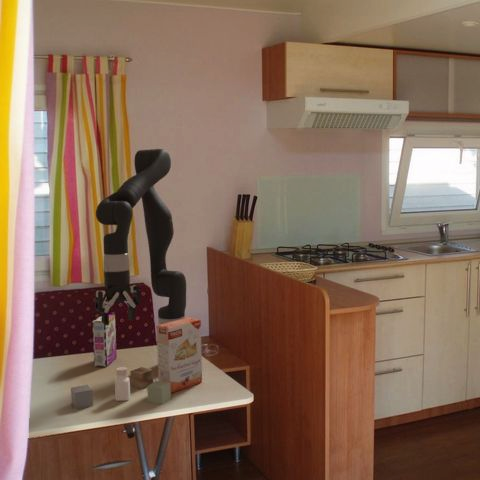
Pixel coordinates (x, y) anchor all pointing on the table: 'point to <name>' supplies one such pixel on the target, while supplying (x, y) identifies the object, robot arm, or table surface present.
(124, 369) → the salt shaker
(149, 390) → the sage green block
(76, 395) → the slate grey block
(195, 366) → the cracker box
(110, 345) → the candy bar box
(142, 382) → the walnut block
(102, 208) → the robot arm
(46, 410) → the table surface
